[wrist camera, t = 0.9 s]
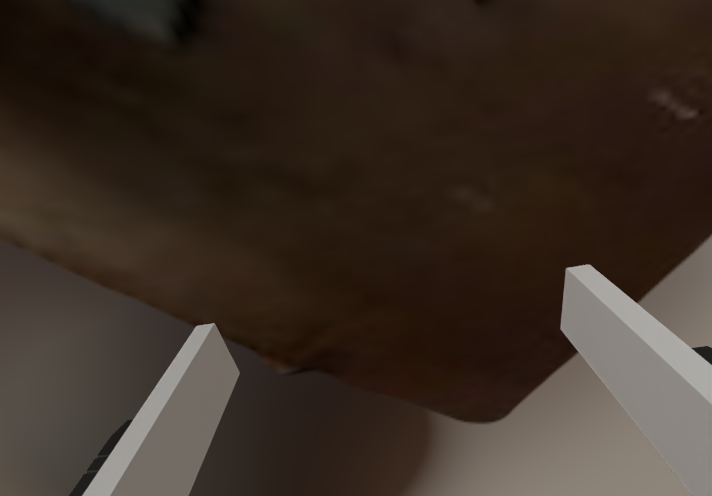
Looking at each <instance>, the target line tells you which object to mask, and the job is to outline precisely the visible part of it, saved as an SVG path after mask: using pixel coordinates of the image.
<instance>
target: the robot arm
mask: <svg viewBox="0 0 712 496" xmlns="http://www.w3.org/2000/svg"><path fill="white" fill-rule="evenodd" d="M560 329H561V330H562V331H563V333H564V334H565V335H566V336H567V338H568V339H569V340H570V341H571V343H572V344H573V345H574V347H575V348H576V349H577V350H578V352H579V353H580V354H581V355H582V357H583V358H584V359H585V361H586V362H587V363H588V364H589V365H590V367H591V368H592V369H593V371H594V372H595V373H596V374H597V376H598V377H599V378H600V380H601V381H602V382H603V383H604V385H605V386H606V387H607V388H608V390H609V391H610V392H611V393H612V395H613V396H614V397H615V398H616V400H617V401H618V402H619V404H620V405H621V406H622V407H623V408H624V410H625V411H626V413H627V414H628V415H629V416H630V418H631V419H632V420H633V421H634V423H635V424H636V425H637V426H638V428H639V429H640V430H641V432H642V433H643V434H644V435H645V437H646V438H647V439H648V441H649V442H650V443H651V444H652V445H653V447H654V448H655V449H656V451H657V452H658V453H659V454H660V456H661V457H662V458H663V460H664V461H665V462H666V463H667V465H668V466H669V467H670V468H671V470H672V471H673V472H674V474H675V475H676V476H677V477H678V479H679V480H680V481H681V482H682V484H683V485H684V486H685V488H686V489H687V490H688V491H689V493H690V494H691V495H692V496H712V348H710V347H708V346H705V347H697V348H690V347H689V346H688V345H687V344H685V343H684V342H683V341H682V340H680V339H679V338H678V337H677V336H676V335H674V334H673V333H672V332H671V331H670V330H668V329H667V328H666V327H665V326H663V325H662V324H661V323H660V322H659V321H657V320H656V319H655V318H654V317H652V316H651V315H650V314H649V313H648V312H646V311H645V310H644V309H643V308H642V307H640V306H639V305H638V304H637V303H636V302H634V301H633V300H632V299H631V298H630V297H628V296H627V295H626V294H625V293H623V292H622V291H621V290H620V289H619V288H617V287H616V286H615V285H614V284H613V283H611V282H610V281H609V280H608V279H606V278H605V277H604V276H603V275H602V274H600V273H599V272H598V271H597V270H596V269H594V268H593V267H592V266H591V265H583V266H576V267H570V268H566V275H565V286H564V296H563V307H562V318H561V328H560ZM239 373H240V372H239V370H238V369H237V367H236V365H235V362H234V360H233V358H232V357H231V354H230V353H229V351H228V349H227V347H226V345H225V343H224V341H223V339H222V337H221V335H220V333H219V331H218V329H217V327H216V325H215V323H213V324H206V325H200V326H196V328H195V329H194V331H193V332H192V333H191V335H190V337H189V338H188V339H187V341H186V342H185V344H184V345H183V347H182V348H181V350H180V351H179V353H178V354H177V356H176V357H175V359H174V360H173V362H172V363H171V365H170V366H169V368H168V369H167V371H166V372H165V374H164V376H163V377H162V378H161V380H160V381H159V383H158V384H157V385H156V387H155V388H154V390H153V392H152V393H151V394H150V396H149V397H148V399H147V400H146V402H145V403H144V405H143V406H142V408H141V409H140V411H139V412H138V414H137V415H136V417H135V418H134V420H128V421H127V422H125V423H124V424H123V425H122V426H121V427H120V428H119V429H118V430H117V431H116V432H115V433H114V434H113V435H112V436H111V437H110V439H109V440H108V441H107V443H106V444H105V445H104V447H103V449H102V450H101V451H100V453H99V454H98V458H97V459H95V460H94V461H93V463H92V464H91V465H90V467H89V468H88V470H87V474H84V475H83V477H82V478H81V480H80V481H79V483H78V484H77V485H76V487H75V488H74V490H73V491H72V492H71V494H70V495H69V496H188V495H189V493H190V491H191V488H192V486H193V483H194V481H195V478H196V476H197V474H198V471H199V469H200V467H201V464H202V462H203V459H204V457H205V455H206V452H207V450H208V447H209V445H210V443H211V440H212V438H213V436H214V433H215V431H216V429H217V426H218V423H219V421H220V419H221V417H222V414H223V412H224V409H225V407H226V405H227V402H228V400H229V397H230V395H231V393H232V390H233V388H234V386H235V383H236V381H237V378H238V376H239Z"/></svg>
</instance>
